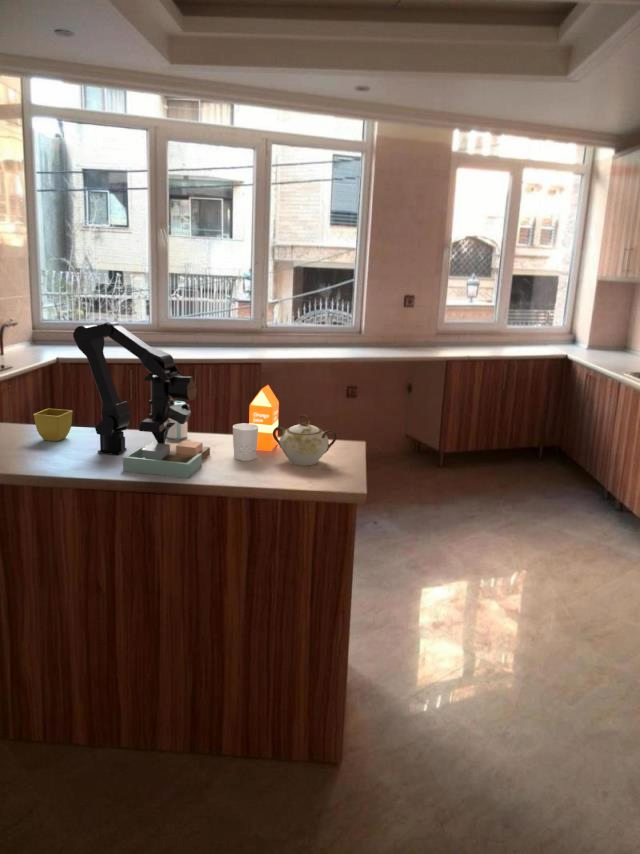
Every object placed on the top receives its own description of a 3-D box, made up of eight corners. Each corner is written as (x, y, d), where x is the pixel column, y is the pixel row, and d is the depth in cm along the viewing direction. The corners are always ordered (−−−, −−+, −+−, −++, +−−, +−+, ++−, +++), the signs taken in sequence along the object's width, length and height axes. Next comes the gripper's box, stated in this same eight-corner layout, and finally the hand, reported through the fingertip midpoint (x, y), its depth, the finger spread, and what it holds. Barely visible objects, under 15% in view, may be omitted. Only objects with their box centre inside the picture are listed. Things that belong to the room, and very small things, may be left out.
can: (164, 435, 225) (164, 400, 222) (185, 434, 227) (185, 399, 224) (167, 440, 218) (167, 405, 215) (189, 439, 221) (189, 404, 218)
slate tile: (141, 457, 193) (141, 449, 192) (151, 449, 198) (151, 442, 197) (160, 460, 192) (160, 452, 191) (170, 452, 197) (169, 444, 196)
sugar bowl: (266, 466, 198) (267, 417, 194) (277, 452, 212) (278, 406, 209) (331, 472, 196) (334, 423, 192) (337, 458, 210) (340, 412, 206)
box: (123, 470, 187) (122, 457, 186) (139, 459, 197) (139, 447, 196) (188, 478, 184) (188, 464, 183) (201, 466, 194) (201, 453, 193)
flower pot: (34, 441, 210) (32, 413, 207) (49, 434, 218) (48, 407, 216) (59, 444, 208) (58, 416, 206) (74, 437, 217) (73, 410, 214)
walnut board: (144, 460, 197) (144, 452, 196) (161, 449, 208) (161, 441, 208) (196, 466, 194) (196, 458, 194) (209, 454, 206) (210, 447, 205)
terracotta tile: (176, 453, 197) (176, 445, 196) (183, 448, 202) (183, 440, 202) (195, 455, 196) (195, 447, 195) (202, 450, 201) (202, 442, 201)
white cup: (253, 462, 200) (254, 430, 198) (228, 459, 202) (229, 428, 199) (260, 455, 208) (261, 424, 205) (236, 452, 209) (237, 422, 207)
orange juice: (277, 443, 222) (280, 385, 217) (271, 451, 213) (273, 390, 208) (255, 441, 223) (256, 383, 218) (247, 448, 214) (249, 388, 209)
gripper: (175, 405, 184) (175, 459, 188) (198, 392, 202) (198, 441, 206) (137, 402, 186) (138, 455, 190) (163, 389, 203) (164, 438, 207)
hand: (161, 447), depth 198 cm, fingers closed
